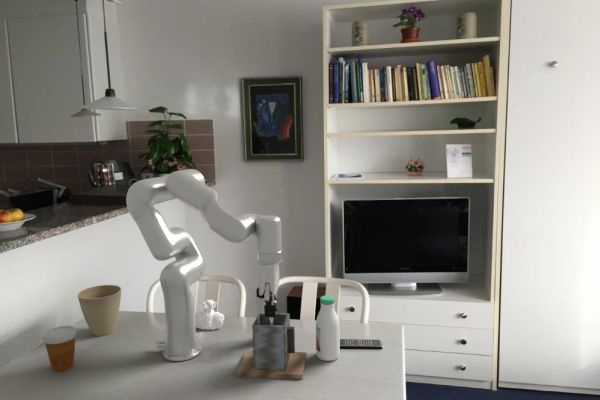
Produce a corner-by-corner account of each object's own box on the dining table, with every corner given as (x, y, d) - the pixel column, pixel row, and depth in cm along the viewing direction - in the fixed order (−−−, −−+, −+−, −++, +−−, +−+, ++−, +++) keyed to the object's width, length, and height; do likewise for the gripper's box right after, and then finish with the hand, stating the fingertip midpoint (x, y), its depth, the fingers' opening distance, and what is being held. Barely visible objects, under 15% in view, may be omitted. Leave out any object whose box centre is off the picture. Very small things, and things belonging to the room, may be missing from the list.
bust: (225, 332, 174) (228, 303, 179) (221, 327, 167) (224, 297, 173) (194, 332, 175) (198, 303, 180) (189, 327, 168) (193, 297, 174)
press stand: (236, 376, 137) (234, 328, 135) (246, 354, 151) (244, 310, 149) (302, 379, 135) (301, 329, 133) (306, 356, 149) (305, 311, 147)
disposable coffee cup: (45, 377, 139) (41, 340, 137) (46, 364, 147) (42, 329, 146) (80, 369, 143) (76, 333, 142) (79, 357, 152) (75, 322, 150)
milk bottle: (343, 352, 151) (342, 295, 148) (334, 363, 144) (334, 303, 141) (321, 348, 154) (320, 292, 152) (312, 359, 147) (311, 299, 145)
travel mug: (273, 345, 158) (272, 289, 155) (255, 343, 159) (253, 288, 156) (278, 337, 164) (276, 283, 161) (260, 335, 165) (258, 282, 162)
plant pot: (72, 335, 168) (68, 294, 166) (106, 321, 181) (103, 282, 179) (99, 344, 161) (95, 301, 159) (132, 328, 174) (129, 288, 172)
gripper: (262, 249, 147) (264, 303, 149) (251, 264, 130) (253, 324, 133) (285, 249, 146) (286, 304, 149) (277, 264, 129) (279, 325, 132)
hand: (271, 313), depth 141 cm, fingers closed on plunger, 4 cm apart
